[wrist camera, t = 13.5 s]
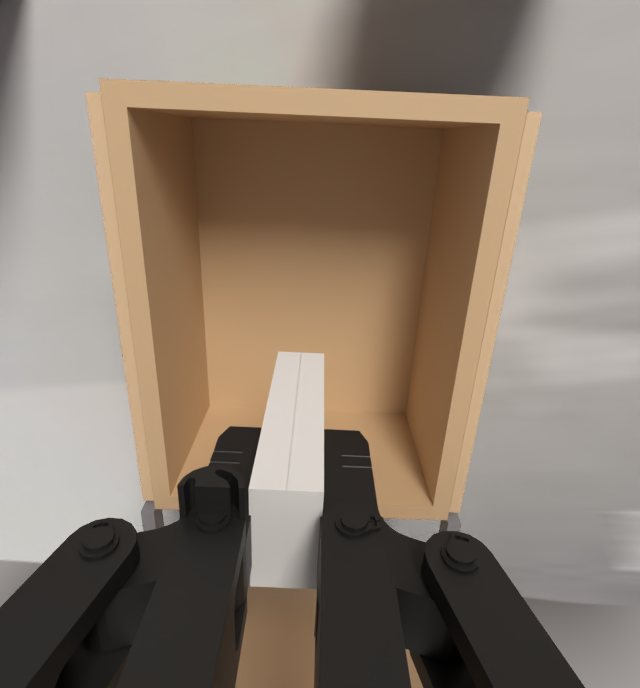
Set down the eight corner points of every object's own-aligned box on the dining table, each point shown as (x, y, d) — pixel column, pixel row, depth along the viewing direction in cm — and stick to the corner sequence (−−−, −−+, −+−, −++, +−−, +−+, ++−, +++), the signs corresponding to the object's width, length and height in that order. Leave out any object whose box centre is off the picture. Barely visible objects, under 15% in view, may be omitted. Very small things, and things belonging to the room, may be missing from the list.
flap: (-40, 747, 9) (-49, 788, 9) (597, 769, 10) (601, 810, 9) (201, 557, 30) (200, 569, 30) (401, 565, 30) (402, 576, 30)
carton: (166, 99, 23) (77, 76, 15) (469, 112, 23) (550, 97, 15) (196, 470, 33) (151, 586, 24) (414, 479, 33) (445, 597, 24)
